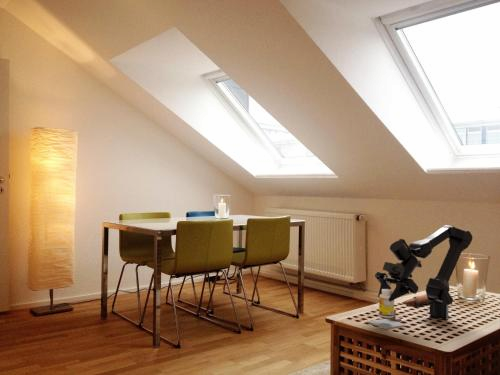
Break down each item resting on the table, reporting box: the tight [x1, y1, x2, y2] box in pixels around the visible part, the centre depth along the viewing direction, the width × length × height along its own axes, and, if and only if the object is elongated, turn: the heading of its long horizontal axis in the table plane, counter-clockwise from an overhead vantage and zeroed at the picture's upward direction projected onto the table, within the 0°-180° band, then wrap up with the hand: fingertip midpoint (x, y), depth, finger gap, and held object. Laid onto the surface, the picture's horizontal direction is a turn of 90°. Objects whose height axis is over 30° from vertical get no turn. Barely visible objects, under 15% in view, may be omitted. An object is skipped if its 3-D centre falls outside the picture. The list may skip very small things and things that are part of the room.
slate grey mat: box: [366, 318, 406, 330], centre depth 189 cm, size 10×10×1 cm
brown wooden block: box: [387, 308, 402, 322], centre depth 200 cm, size 12×4×4 cm, turn 6°
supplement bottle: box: [378, 289, 395, 319], centre depth 189 cm, size 6×6×10 cm
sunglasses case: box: [401, 293, 431, 308], centre depth 228 cm, size 18×7×7 cm
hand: (384, 298), depth 188 cm, fingers closed on supplement bottle, 5 cm apart
